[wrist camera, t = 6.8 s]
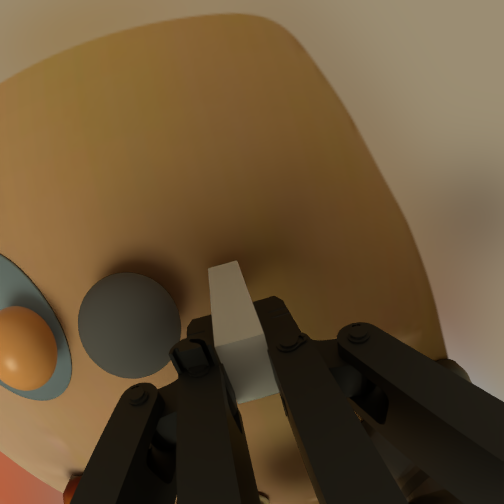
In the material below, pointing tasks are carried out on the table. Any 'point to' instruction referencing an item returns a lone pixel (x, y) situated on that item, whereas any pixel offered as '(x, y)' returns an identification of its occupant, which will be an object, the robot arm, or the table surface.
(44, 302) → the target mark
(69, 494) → the fruit
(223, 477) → the robot arm
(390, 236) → the table surface
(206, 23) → the table surface
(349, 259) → the table surface
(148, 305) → the dark grey ball
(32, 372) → the orange ball
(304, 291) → the table surface
